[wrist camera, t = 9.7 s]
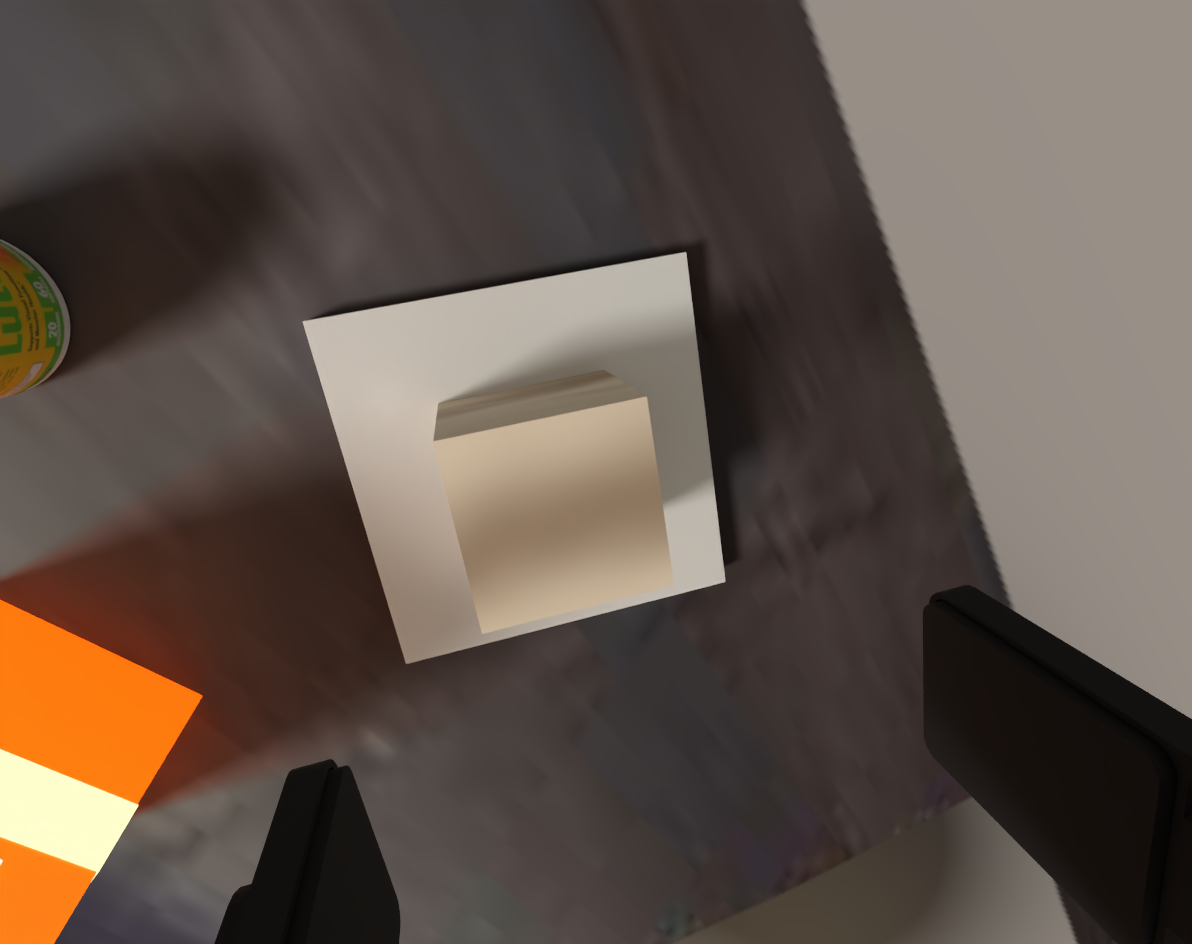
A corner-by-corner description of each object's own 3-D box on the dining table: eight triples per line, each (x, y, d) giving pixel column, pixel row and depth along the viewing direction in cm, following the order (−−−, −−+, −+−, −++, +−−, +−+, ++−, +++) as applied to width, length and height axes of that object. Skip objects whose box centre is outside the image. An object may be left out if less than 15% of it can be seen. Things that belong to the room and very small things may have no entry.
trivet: (309, 319, 24) (302, 321, 23) (676, 253, 26) (686, 251, 25) (408, 648, 28) (406, 664, 27) (715, 570, 30) (725, 581, 29)
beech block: (438, 403, 25) (432, 441, 19) (604, 370, 25) (646, 396, 20) (476, 558, 27) (482, 634, 21) (629, 521, 27) (674, 585, 22)
